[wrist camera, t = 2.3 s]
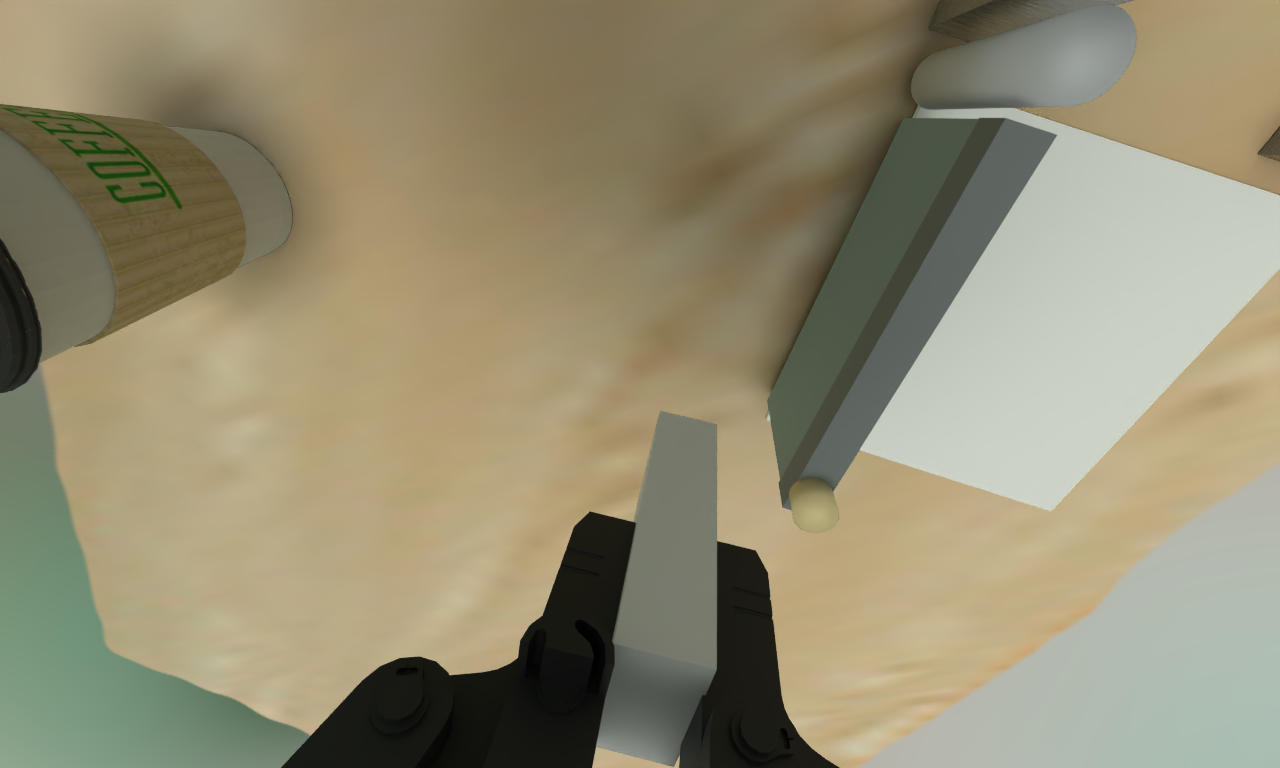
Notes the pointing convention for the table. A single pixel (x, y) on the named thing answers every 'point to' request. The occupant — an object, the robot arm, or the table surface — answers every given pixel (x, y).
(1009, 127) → the gate
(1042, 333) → the mat
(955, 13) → the hinge post
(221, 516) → the table surface
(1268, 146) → the post
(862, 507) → the table surface
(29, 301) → the coffee cup
